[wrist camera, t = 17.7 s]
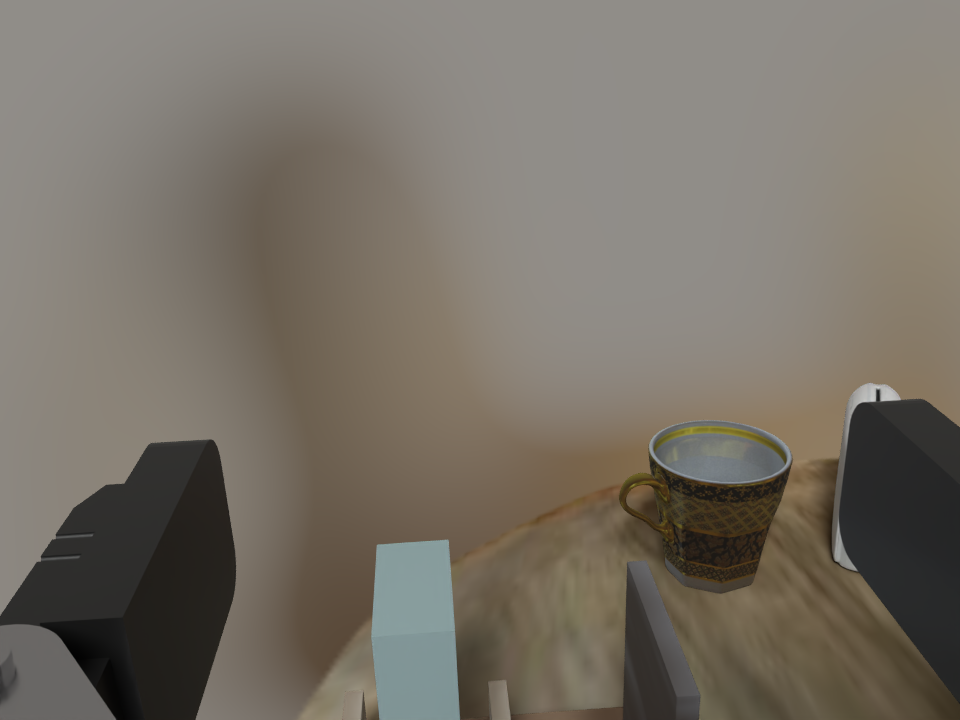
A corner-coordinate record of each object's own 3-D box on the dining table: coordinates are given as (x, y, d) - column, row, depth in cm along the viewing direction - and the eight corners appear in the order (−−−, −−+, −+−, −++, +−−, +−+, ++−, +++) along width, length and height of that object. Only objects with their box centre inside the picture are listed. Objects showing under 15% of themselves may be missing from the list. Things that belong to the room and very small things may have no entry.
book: (460, 758, 50) (448, 539, 45) (468, 871, 44) (454, 630, 39) (397, 763, 50) (377, 544, 45) (395, 877, 44) (371, 636, 38)
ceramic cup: (728, 520, 75) (736, 410, 72) (809, 587, 67) (823, 465, 63) (586, 557, 71) (587, 442, 68) (653, 633, 63) (658, 506, 59)
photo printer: (833, 502, 78) (849, 366, 73) (888, 510, 76) (908, 372, 71) (826, 569, 69) (844, 419, 64) (888, 580, 67) (912, 428, 63)
